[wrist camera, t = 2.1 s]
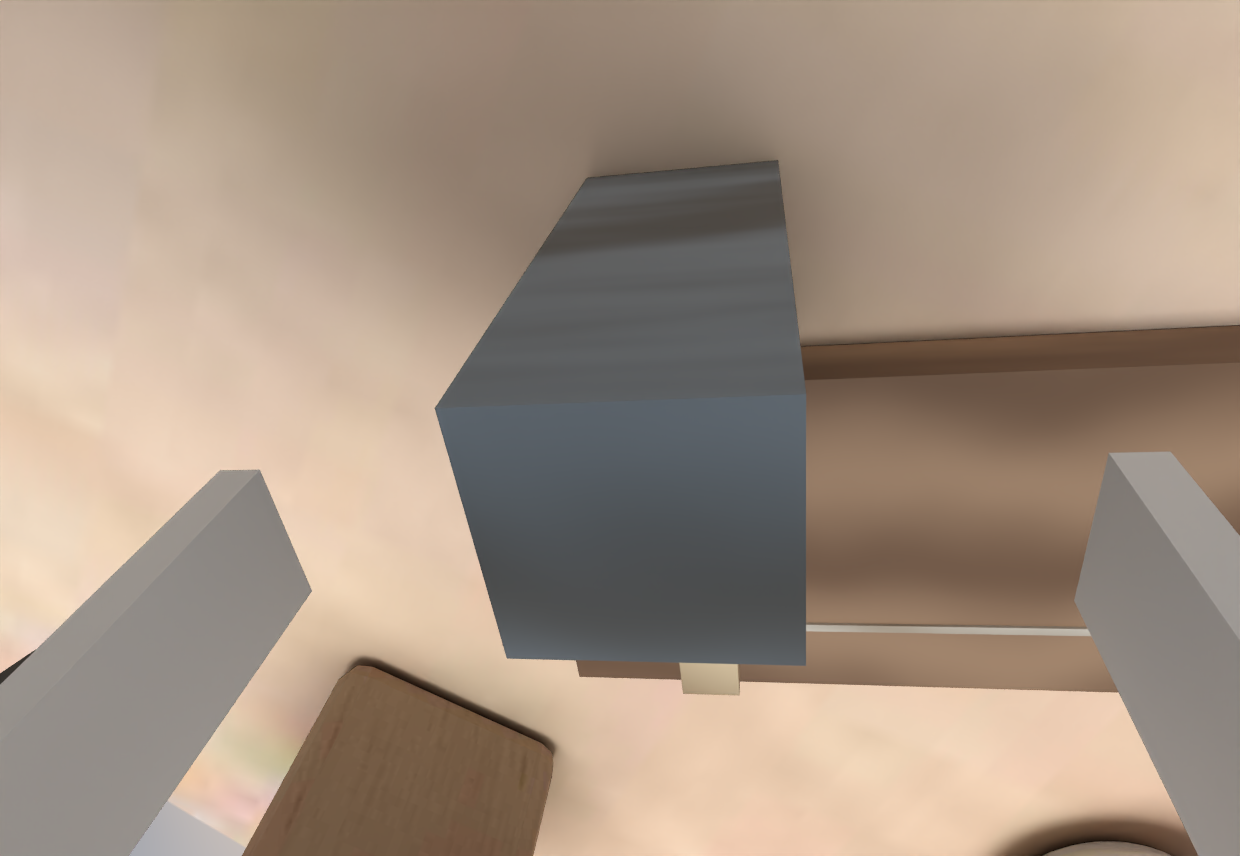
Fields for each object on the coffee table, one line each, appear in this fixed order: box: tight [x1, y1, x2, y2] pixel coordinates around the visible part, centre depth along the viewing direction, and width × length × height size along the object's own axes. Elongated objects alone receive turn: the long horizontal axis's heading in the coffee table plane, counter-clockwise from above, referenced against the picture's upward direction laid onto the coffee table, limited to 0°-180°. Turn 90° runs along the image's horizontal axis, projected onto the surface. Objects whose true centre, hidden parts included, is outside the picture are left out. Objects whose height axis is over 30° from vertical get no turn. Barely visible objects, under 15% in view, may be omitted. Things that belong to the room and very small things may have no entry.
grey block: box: [435, 160, 806, 695], centre depth 19 cm, size 16×5×12 cm, turn 7°
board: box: [576, 326, 1240, 692], centre depth 24 cm, size 12×22×2 cm, turn 97°
